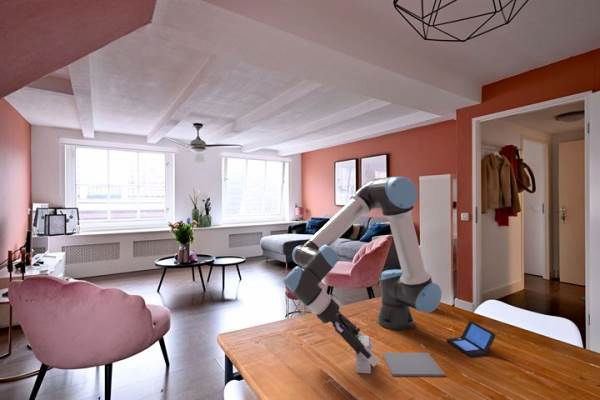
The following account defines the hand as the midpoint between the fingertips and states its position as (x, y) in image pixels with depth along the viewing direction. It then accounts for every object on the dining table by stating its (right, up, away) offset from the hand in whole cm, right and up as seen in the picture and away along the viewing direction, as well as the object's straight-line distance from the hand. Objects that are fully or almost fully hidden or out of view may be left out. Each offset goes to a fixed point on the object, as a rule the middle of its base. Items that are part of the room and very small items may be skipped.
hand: (373, 355), depth 99 cm
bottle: (+37, -3, +57) cm, 68 cm away
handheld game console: (+38, -4, +12) cm, 40 cm away
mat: (+13, -4, +1) cm, 13 cm away
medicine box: (-3, -4, 0) cm, 5 cm away
